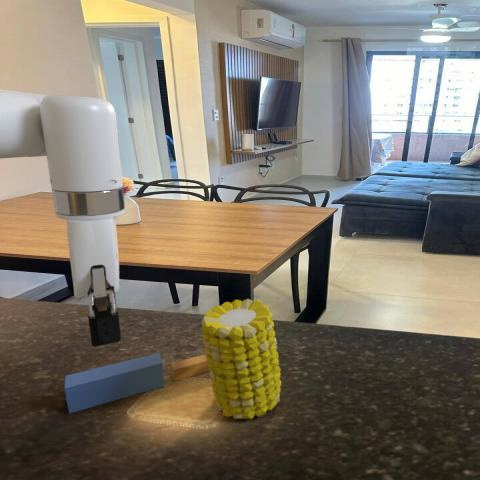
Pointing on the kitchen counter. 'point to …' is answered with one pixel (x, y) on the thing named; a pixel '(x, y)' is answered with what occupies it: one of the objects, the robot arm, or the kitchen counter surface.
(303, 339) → the kitchen counter surface
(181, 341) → the kitchen counter surface
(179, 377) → the tan wooden bar
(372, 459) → the kitchen counter surface
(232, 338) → the food
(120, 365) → the blue stick
